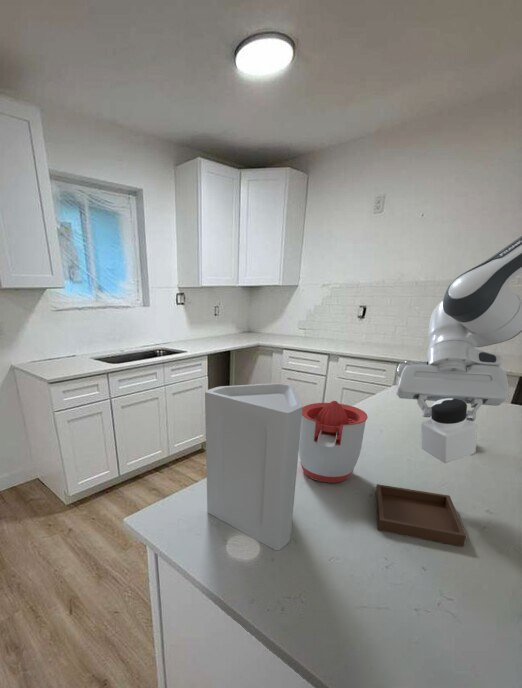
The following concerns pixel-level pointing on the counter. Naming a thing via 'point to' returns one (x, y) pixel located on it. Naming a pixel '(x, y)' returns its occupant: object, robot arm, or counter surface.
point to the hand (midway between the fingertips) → (448, 418)
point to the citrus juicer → (330, 440)
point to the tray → (418, 515)
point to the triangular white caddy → (253, 458)
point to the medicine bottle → (449, 431)
